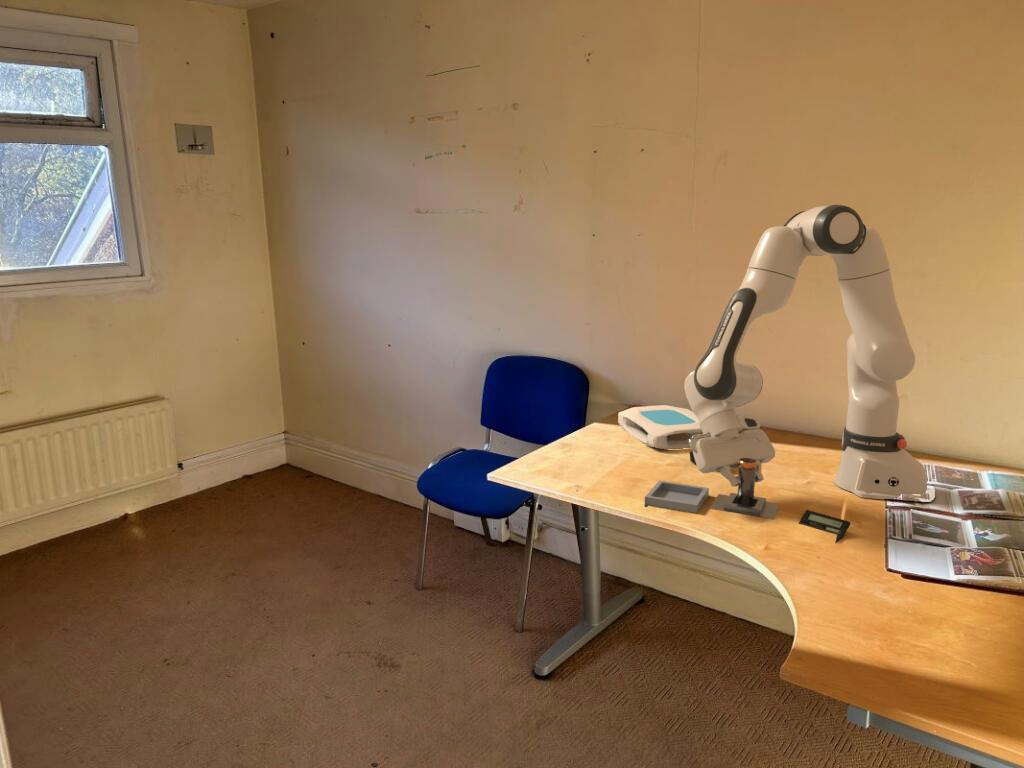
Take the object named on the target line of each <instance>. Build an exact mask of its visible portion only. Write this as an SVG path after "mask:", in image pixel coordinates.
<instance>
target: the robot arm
mask: <svg viewBox="0 0 1024 768" xmlns="http://www.w3.org/2000/svg"><path fill="white" fill-rule="evenodd" d="M827 255H829V256H830V257H831V259H833V262H834V264H835V267H836V273H837V274H836V275H837V279H838V280H837V281H838V284H839V291H840V295H841V299H842V304H843V306H842V307H843V310H844V313H845V316H846V318H847V320H848V323H849V326H850V329H851V331H852V332H851V334H850V335H849V336H848V338H847V341H846V344H845V345H846V347H845V348H846V355H847V356H846V360H847V361H846V362H847V363H846V365H847V370H846V371H847V387H848V388H847V389H848V403H847V414H846V422H845V423H846V424H845V427H844V428H843V432H842V439H841V447H842V448H841V450H842V454H841V456H840V457H841V459H840V461H839V464H838V465H839V466H838V468H837V472H836V474H835V476H834V479H833V482H834V484H835V485H836V486H837V487H839V488H841V489H843V490H845V491H848V492H851V493H853V494H854V495H856V496H857V497H860V498H863V499H875V500H884V499H888V498H895V497H899V496H900V495H901V494H923V493H925V492H926V490H927V482H928V477H927V472H926V469H925V467H924V465H923V464H922V463H921V462H920V461H919V460H918V459H916V458H915V457H914V456H912V455H911V454H910V452H908V451H906V448H907V446H908V442H907V441H906V440H905V437H904V435H903V433H901V434H900V433H898V432H897V427H898V417H899V409H900V398H899V395H898V388H897V382H898V381H899V380H902V379H904V378H906V377H907V376H908V375H909V374H911V372H912V371H913V369H914V367H915V363H916V355H915V353H914V350H913V347H912V345H911V343H910V341H909V340H910V339H909V337H908V334H907V329H906V326H905V324H904V320H903V318H902V314H901V312H900V310H899V306H898V303H897V300H896V295H895V294H896V293H895V290H894V284H893V279H892V275H891V269H890V264H889V260H888V256H887V252H886V249H885V246H884V243H883V240H882V238H881V236H880V234H879V232H878V231H877V230H876V228H874V227H871V226H867V225H865V224H864V222H863V220H862V218H861V216H860V214H858V212H857V211H856V210H855V209H853V208H851V207H849V206H847V205H844V204H831V205H821V206H816V207H813V208H811V209H807V210H803V211H799V212H798V213H795V214H794V215H792V216H791V217H789V219H787V221H786V222H785V223H784V224H783V225H779V226H778V225H775V226H772V227H769V228H767V229H765V231H764V232H763V233H762V234H761V237H760V238H759V239H758V242H757V244H756V247H755V248H754V251H753V253H752V255H751V258H750V261H749V263H748V266H747V269H746V272H745V275H744V277H743V280H742V282H741V285H740V286H739V288H738V289H737V291H736V292H735V293H734V294H733V295H732V297H731V298H730V300H729V301H728V304H727V306H726V307H725V310H724V312H723V314H722V316H721V319H720V321H719V324H718V326H717V328H716V330H715V332H714V335H713V337H712V339H711V342H710V345H709V347H708V348H707V350H706V352H705V353H704V354H703V356H702V357H701V359H700V360H699V362H698V364H697V365H696V366H695V369H694V370H693V371H691V372H690V373H689V374H687V376H686V378H685V380H684V385H683V387H684V393H685V396H686V398H687V402H688V403H689V406H690V408H691V411H692V412H693V413H694V414H695V415H696V416H697V417H698V420H699V425H700V428H701V430H702V432H703V434H699V435H693V436H692V437H689V439H690V440H689V439H688V440H689V444H690V447H691V449H690V450H691V451H693V455H694V458H695V464H696V467H697V469H698V471H699V472H701V473H702V474H710V473H715V472H720V474H721V476H723V477H724V478H725V479H726V480H727V481H728V482H729V483H730V486H732V488H734V487H738V486H739V485H740V484H741V481H740V480H739V475H737V476H736V475H735V474H734V473H732V471H731V470H732V469H739V459H741V458H751V459H755V460H756V472H755V483H761V482H762V481H764V476H763V474H762V468H763V467H762V464H768V463H769V462H770V461H772V460H773V459H774V458H775V456H776V449H775V448H774V445H773V443H772V442H771V441H770V440H771V439H770V438H769V437H768V435H767V434H766V432H765V431H764V430H762V429H760V427H761V422H760V421H759V420H758V419H757V418H751V417H746V416H743V415H739V414H737V413H736V411H735V409H736V408H739V407H741V406H743V405H744V406H745V405H746V404H748V403H750V402H753V401H754V400H756V399H757V398H758V396H759V395H760V394H761V391H762V389H763V386H764V385H763V382H764V381H763V376H762V373H761V372H760V370H759V369H758V368H757V367H756V366H754V365H752V364H749V363H747V362H743V361H739V360H738V361H737V360H736V359H737V358H736V357H737V354H738V352H739V350H740V347H741V346H742V344H743V340H744V338H745V335H746V334H747V331H748V329H749V327H750V326H751V324H752V323H753V322H754V321H755V320H756V319H758V318H760V317H762V316H763V315H767V314H771V313H774V312H776V311H779V310H780V309H782V308H783V307H785V305H787V303H788V300H789V299H791V298H790V297H791V296H792V294H793V290H794V288H795V284H796V280H797V277H798V274H799V271H800V270H799V269H800V267H801V265H802V264H803V262H804V260H805V259H806V258H807V257H808V256H811V257H819V256H820V257H822V256H827Z"/></svg>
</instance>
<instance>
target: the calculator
mask: <svg viewBox="0 0 1024 768" xmlns="http://www.w3.org/2000/svg"><path fill="white" fill-rule="evenodd" d="M797 524H799V525H802V526H806V527H809V528H813V529H815V530H816V529H817V530H819V531H823V532H826V533H828V534H829V533H830V534H833V535H836V537H835V542H834V543H835V545H836V544H837V543H838V542H840V541H841V540H842V539H844V537H845V534H846V533H847V531H848V530H849V528H850V526H851V521H849V520H845V519H843V518H842V519H841V518H838V517H834V516H831V515H826V514H823V513H820V512H816V511H812V510H809V509H806V510H805V511H804V513H803V515H802V517H801V518H800V520H799V521H798V523H797Z"/></svg>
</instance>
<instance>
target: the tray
mask: <svg viewBox="0 0 1024 768" xmlns="http://www.w3.org/2000/svg"><path fill="white" fill-rule="evenodd" d="M709 489H710V488H709V487H705V486H697V485H692V484H691V485H690V484H686V483H681V482H680V483H679V482H671V481H666V480H658V482H656V483H655V485H654V486H653V487H652V488H650V490H649V492H647V494H646V495H645V496H644V507H645V508H648V507H649V506H651V507H656V508H657V507H658V508H662V509H666V510H675V511H680V512H685V513H692V514H698V512H699V510H700V509H701V508H702V506H703V505H704V503H705V501H706V500H707V498H709V495H710V494H709V493H710V491H709Z"/></svg>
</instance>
